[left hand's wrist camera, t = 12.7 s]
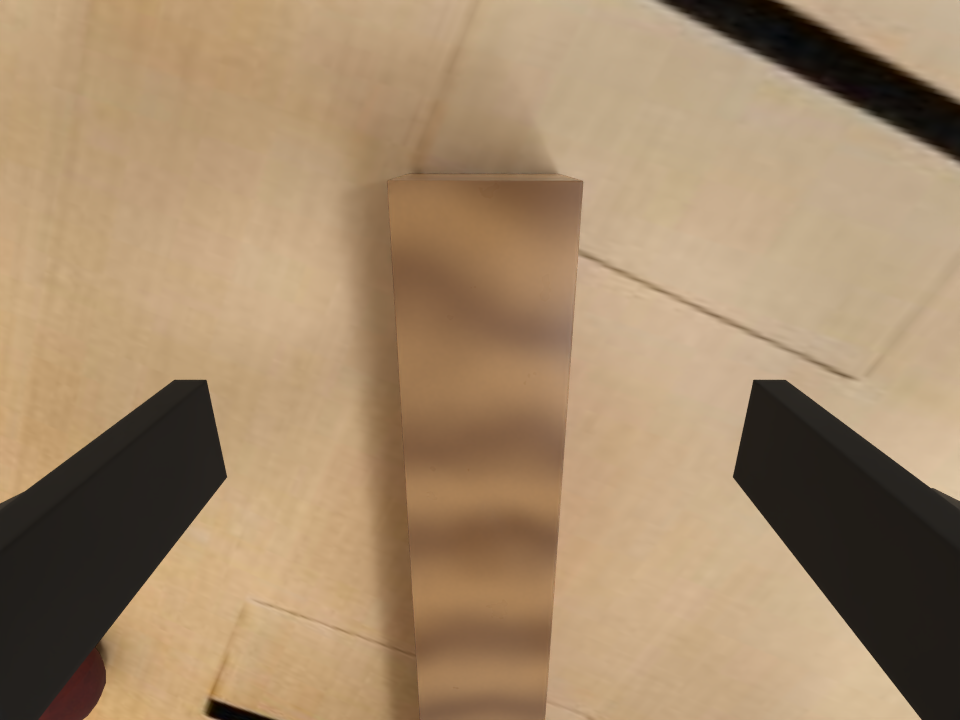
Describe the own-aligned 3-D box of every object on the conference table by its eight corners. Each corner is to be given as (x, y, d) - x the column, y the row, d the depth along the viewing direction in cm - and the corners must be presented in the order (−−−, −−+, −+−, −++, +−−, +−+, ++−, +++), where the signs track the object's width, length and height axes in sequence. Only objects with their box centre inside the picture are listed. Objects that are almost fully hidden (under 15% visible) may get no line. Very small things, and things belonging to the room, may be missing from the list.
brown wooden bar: (408, 173, 30) (386, 180, 23) (560, 173, 30) (583, 180, 23) (436, 782, 50) (429, 880, 44) (526, 782, 50) (533, 881, 44)
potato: (26, 664, 44) (-53, 753, 38) (41, 602, 42) (-40, 686, 35) (114, 691, 45) (52, 782, 39) (134, 632, 43) (71, 719, 36)
